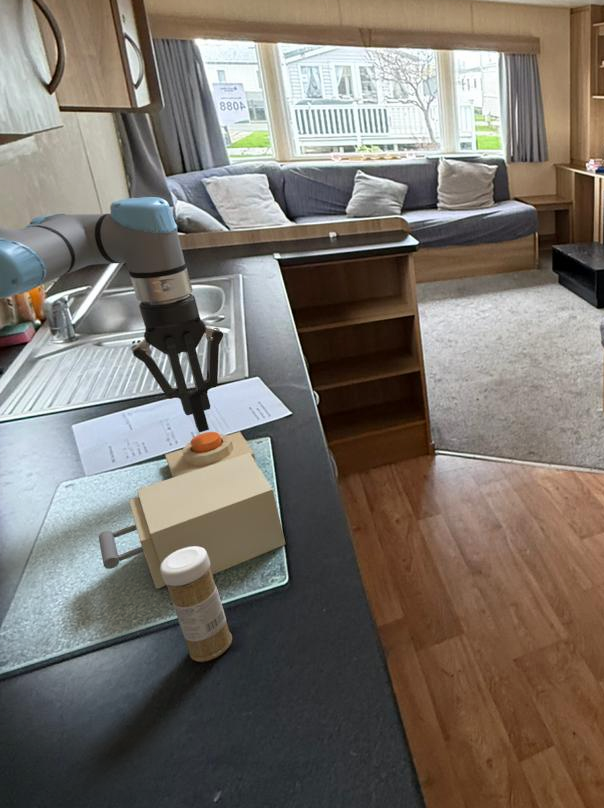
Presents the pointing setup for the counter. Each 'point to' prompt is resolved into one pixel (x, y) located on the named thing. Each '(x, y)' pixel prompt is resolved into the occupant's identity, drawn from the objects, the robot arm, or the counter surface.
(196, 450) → the button
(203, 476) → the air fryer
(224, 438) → the panel
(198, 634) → the sprinkles bottle
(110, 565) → the pull-out drawer
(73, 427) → the counter surface
